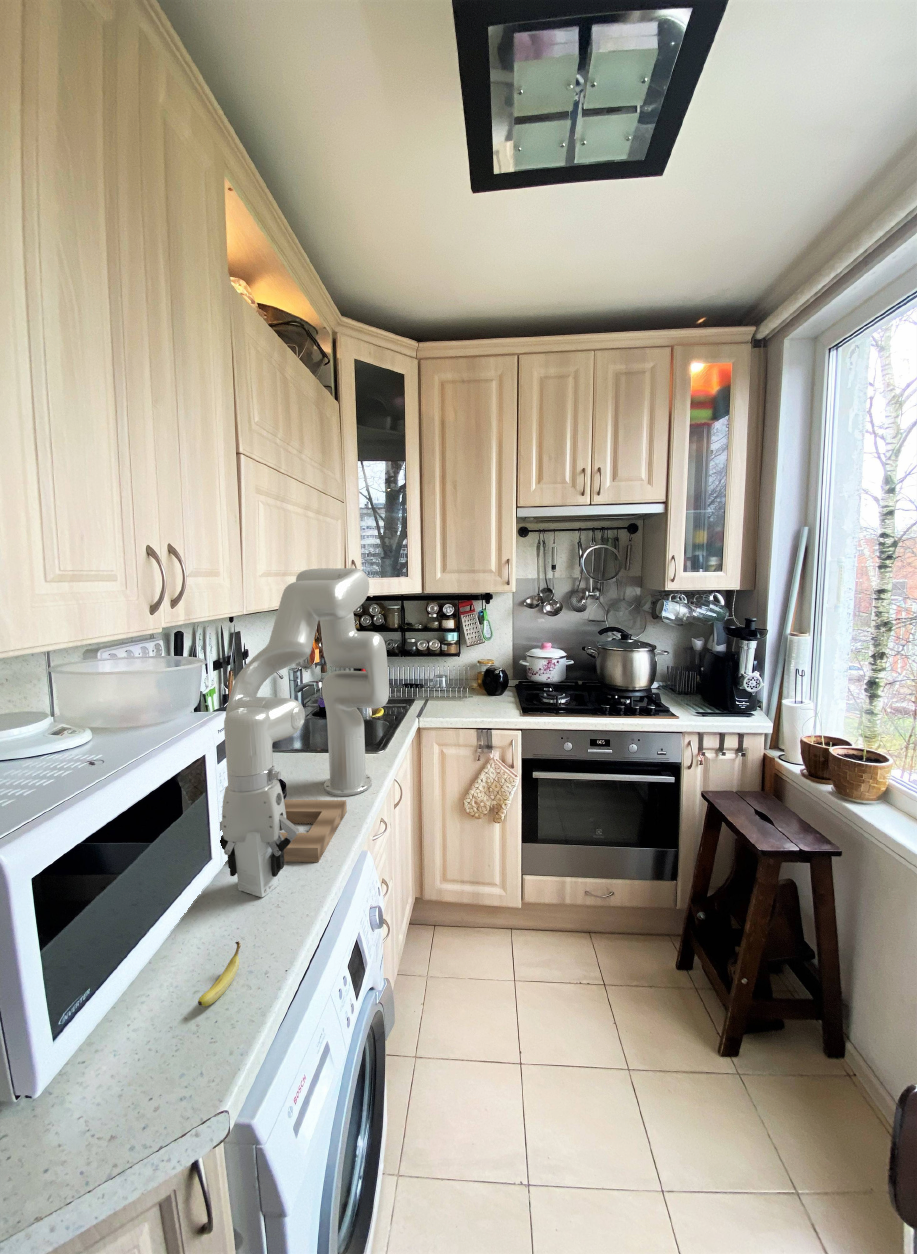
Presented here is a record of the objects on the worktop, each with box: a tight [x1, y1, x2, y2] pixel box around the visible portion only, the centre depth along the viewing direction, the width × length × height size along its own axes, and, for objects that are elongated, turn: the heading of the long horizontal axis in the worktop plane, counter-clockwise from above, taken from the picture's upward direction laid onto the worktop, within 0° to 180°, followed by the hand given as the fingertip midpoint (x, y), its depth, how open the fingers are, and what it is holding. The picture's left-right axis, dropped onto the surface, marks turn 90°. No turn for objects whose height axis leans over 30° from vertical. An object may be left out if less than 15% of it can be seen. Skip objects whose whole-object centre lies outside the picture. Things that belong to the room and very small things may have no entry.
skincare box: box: [234, 832, 280, 898], centre depth 85 cm, size 6×4×12 cm
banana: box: [197, 940, 242, 1007], centre depth 64 cm, size 8×2×4 cm, turn 170°
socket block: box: [279, 799, 348, 863], centre depth 103 cm, size 20×17×3 cm
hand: (256, 871), depth 85 cm, fingers closed on skincare box, 7 cm apart
